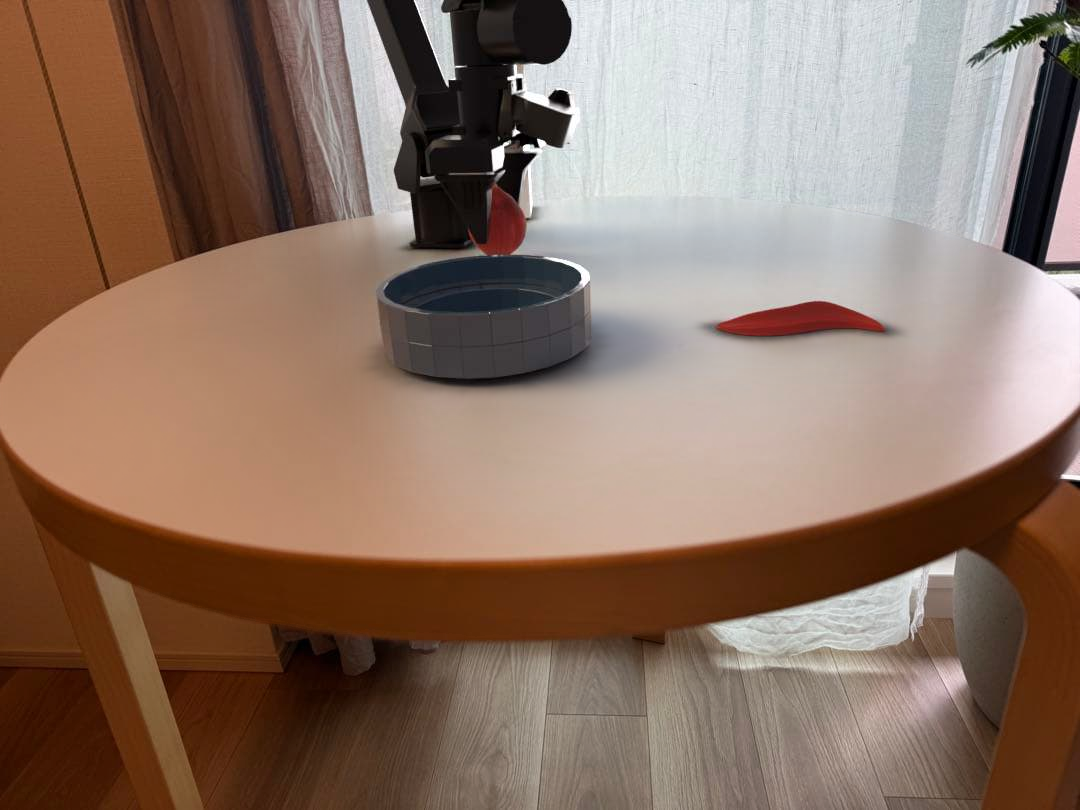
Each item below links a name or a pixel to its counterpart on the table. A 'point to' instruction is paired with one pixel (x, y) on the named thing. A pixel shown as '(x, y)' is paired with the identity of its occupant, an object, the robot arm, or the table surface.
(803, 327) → the cayenne pepper
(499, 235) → the onion
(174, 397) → the table surface
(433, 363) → the bowl
